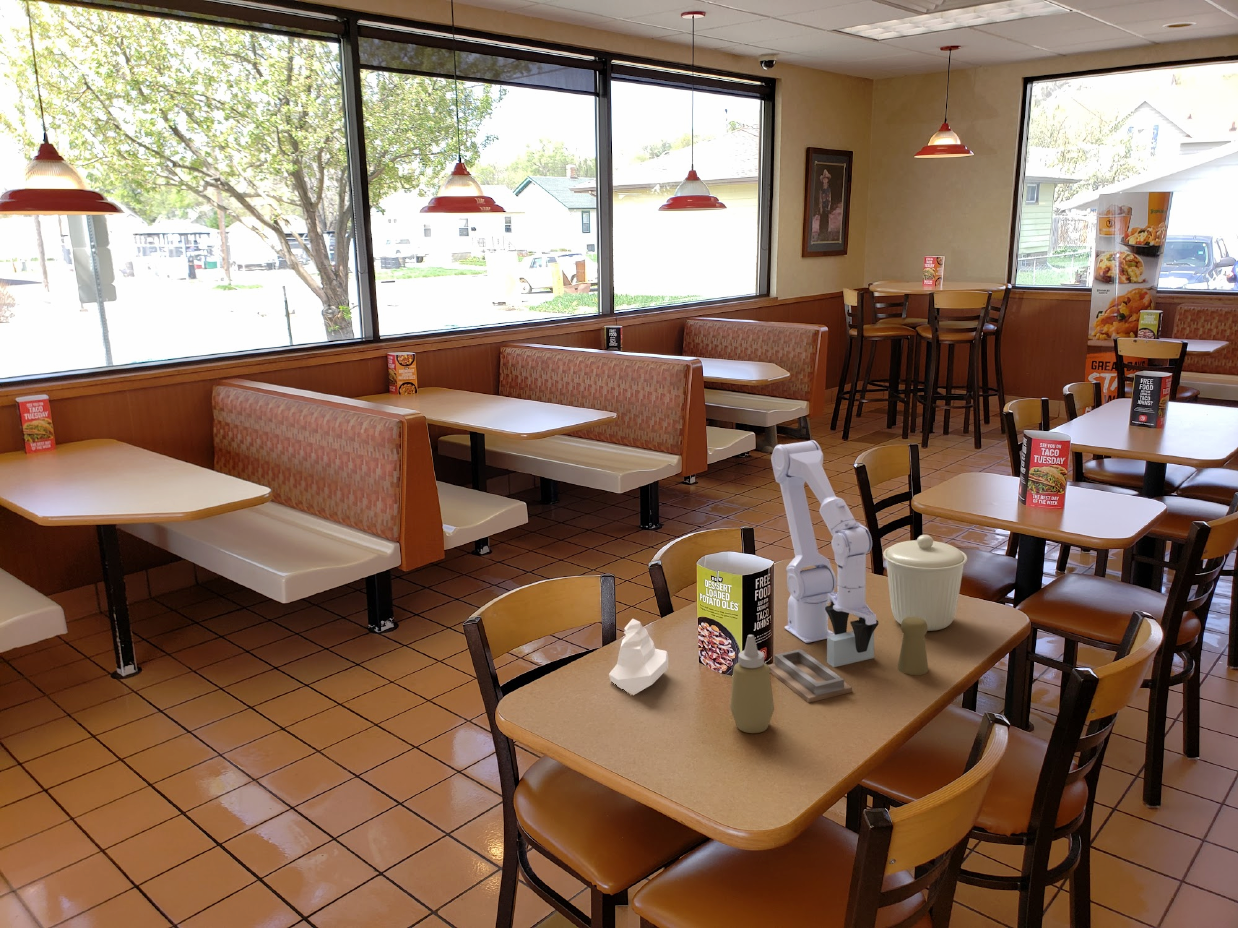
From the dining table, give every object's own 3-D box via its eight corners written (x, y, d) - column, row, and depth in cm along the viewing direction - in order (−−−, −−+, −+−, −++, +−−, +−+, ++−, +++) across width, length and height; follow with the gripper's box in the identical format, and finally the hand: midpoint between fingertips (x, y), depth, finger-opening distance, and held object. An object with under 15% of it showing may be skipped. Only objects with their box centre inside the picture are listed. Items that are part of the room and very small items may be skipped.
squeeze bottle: (763, 741, 164) (762, 648, 160) (723, 730, 168) (720, 640, 164) (781, 721, 171) (780, 631, 167) (741, 711, 175) (739, 624, 171)
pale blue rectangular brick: (833, 667, 191) (833, 641, 190) (827, 662, 193) (827, 636, 192) (873, 658, 195) (874, 631, 193) (866, 653, 197) (867, 627, 195)
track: (766, 669, 192) (766, 656, 191) (807, 660, 195) (807, 646, 194) (808, 702, 177) (808, 688, 176) (852, 691, 180) (852, 677, 180)
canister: (868, 626, 210) (869, 539, 205) (901, 601, 223) (903, 519, 219) (946, 645, 199) (949, 553, 194) (976, 618, 212) (980, 531, 207)
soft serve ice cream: (600, 701, 185) (583, 634, 184) (631, 675, 198) (615, 612, 198) (655, 696, 179) (638, 626, 179) (683, 670, 192) (667, 605, 192)
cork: (895, 672, 188) (896, 622, 185) (900, 660, 193) (902, 611, 190) (925, 677, 185) (927, 626, 182) (930, 664, 190) (932, 615, 188)
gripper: (815, 576, 195) (815, 635, 198) (855, 598, 182) (855, 661, 185) (843, 571, 198) (843, 629, 201) (885, 592, 184) (884, 654, 187)
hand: (850, 644), depth 193 cm, fingers open, 7 cm apart
